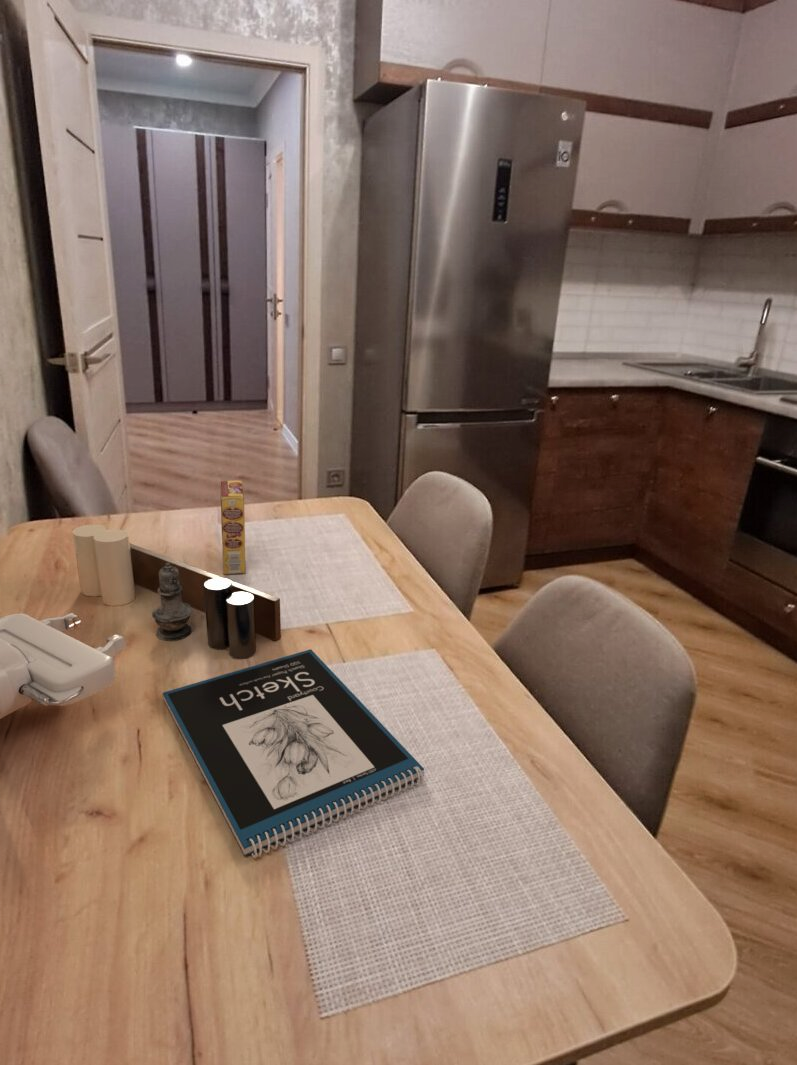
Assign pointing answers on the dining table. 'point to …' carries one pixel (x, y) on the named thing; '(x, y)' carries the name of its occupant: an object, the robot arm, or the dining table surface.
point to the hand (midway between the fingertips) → (99, 629)
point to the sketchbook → (287, 748)
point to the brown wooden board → (193, 588)
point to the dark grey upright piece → (171, 607)
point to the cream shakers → (104, 564)
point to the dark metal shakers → (230, 618)
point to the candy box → (233, 527)
